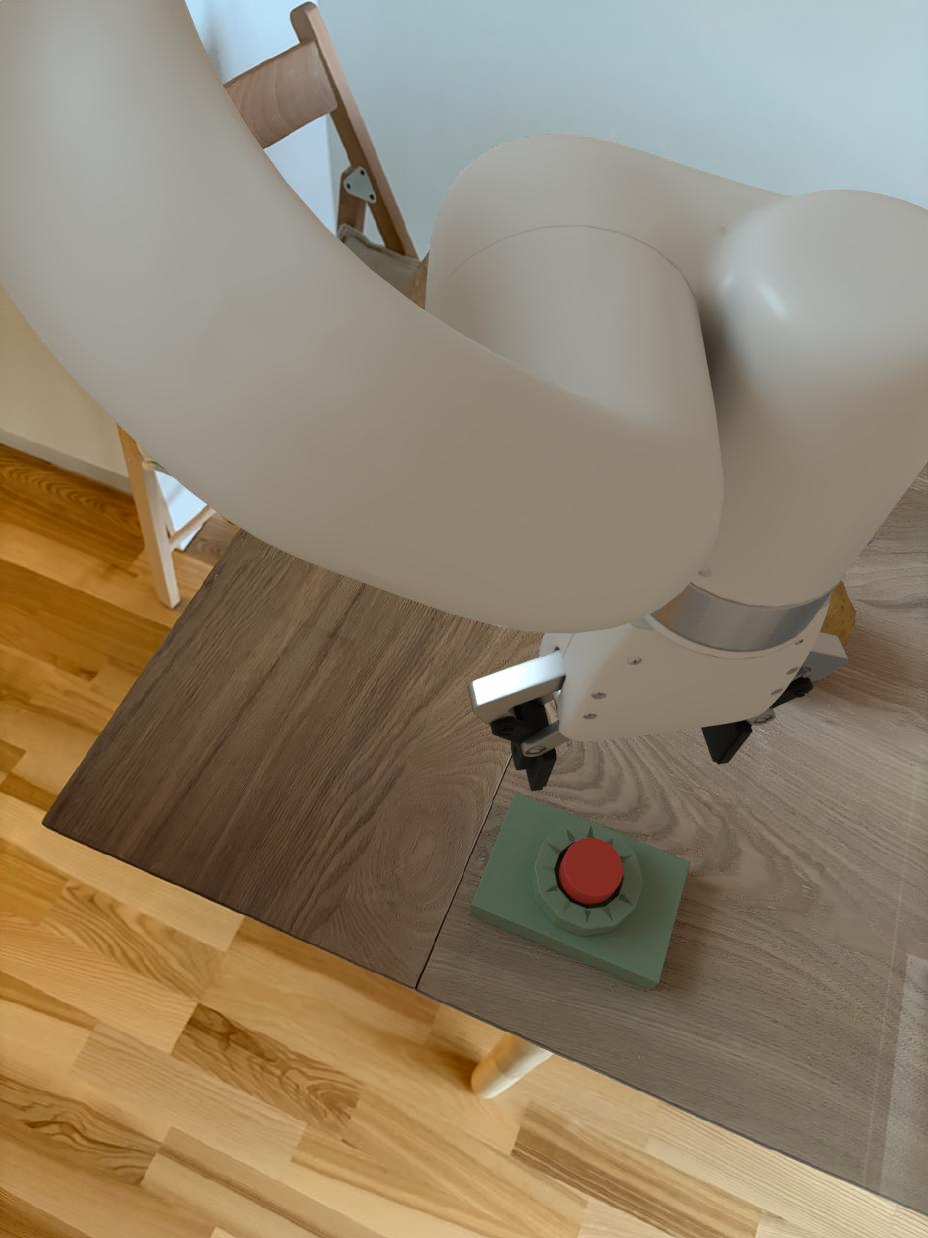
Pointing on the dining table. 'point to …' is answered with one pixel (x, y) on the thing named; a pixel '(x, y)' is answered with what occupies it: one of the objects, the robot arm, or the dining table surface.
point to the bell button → (590, 871)
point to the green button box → (544, 913)
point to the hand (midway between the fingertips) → (622, 750)
